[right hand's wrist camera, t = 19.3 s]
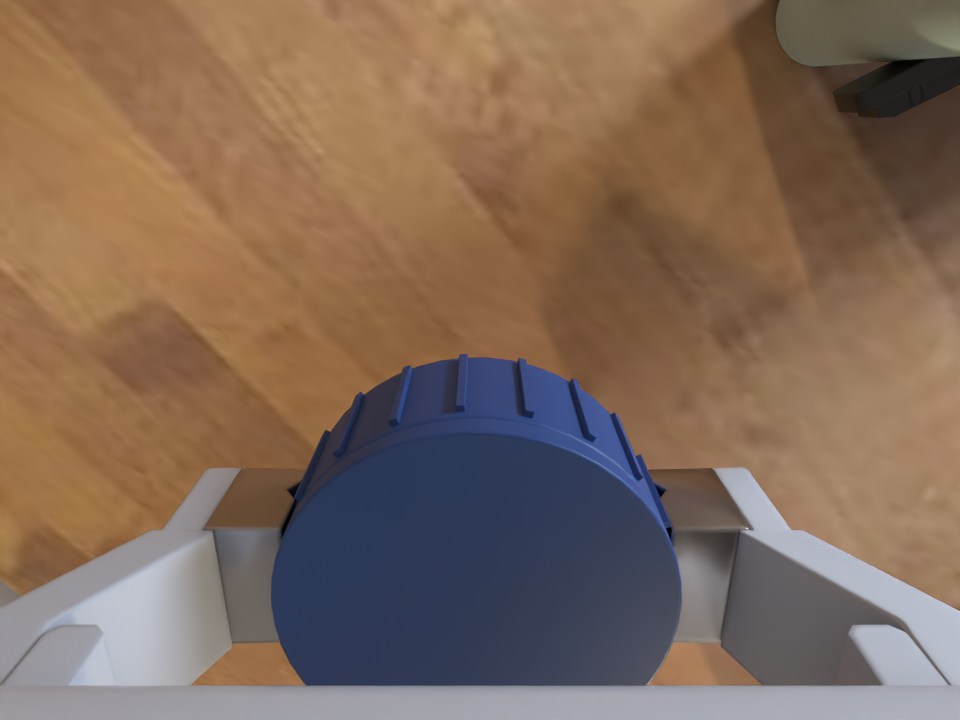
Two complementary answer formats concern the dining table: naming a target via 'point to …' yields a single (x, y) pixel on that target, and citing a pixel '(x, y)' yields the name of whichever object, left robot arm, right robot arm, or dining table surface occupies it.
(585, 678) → the lid
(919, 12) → the jar
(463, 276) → the dining table surface
